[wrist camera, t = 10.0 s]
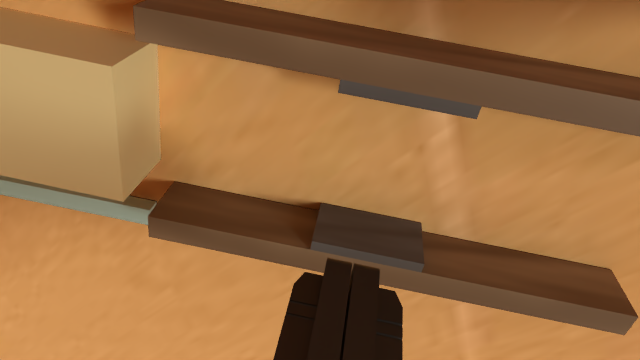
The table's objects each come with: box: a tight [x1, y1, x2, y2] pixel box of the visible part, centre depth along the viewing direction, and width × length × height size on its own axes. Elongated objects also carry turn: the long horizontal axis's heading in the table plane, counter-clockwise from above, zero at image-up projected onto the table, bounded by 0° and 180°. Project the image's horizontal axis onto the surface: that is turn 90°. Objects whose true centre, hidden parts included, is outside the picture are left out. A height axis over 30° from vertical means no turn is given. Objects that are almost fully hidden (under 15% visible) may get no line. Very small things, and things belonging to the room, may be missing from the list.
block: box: [0, 7, 161, 202], centre depth 20 cm, size 6×9×4 cm, turn 81°
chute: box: [133, 0, 640, 335], centre depth 20 cm, size 10×22×3 cm, turn 82°
